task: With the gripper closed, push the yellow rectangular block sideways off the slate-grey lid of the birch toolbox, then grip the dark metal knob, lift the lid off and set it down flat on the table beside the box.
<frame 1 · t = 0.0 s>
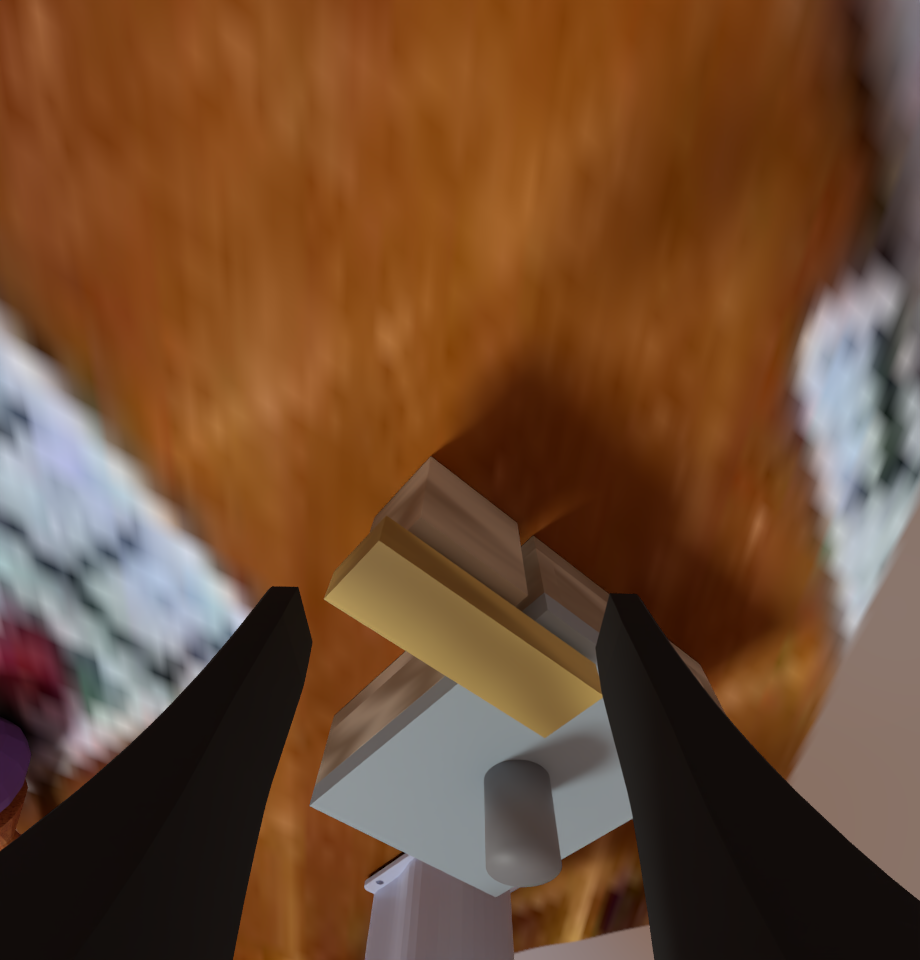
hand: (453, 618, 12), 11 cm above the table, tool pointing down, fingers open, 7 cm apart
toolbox: (509, 691, 28), on the table
lid: (513, 741, 26), point 3 cm above the table, touching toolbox
yellow rectangular block: (471, 634, 18), point 6 cm above the table, slide at 0.0 cm
kendama: (37, 796, 34), on the table
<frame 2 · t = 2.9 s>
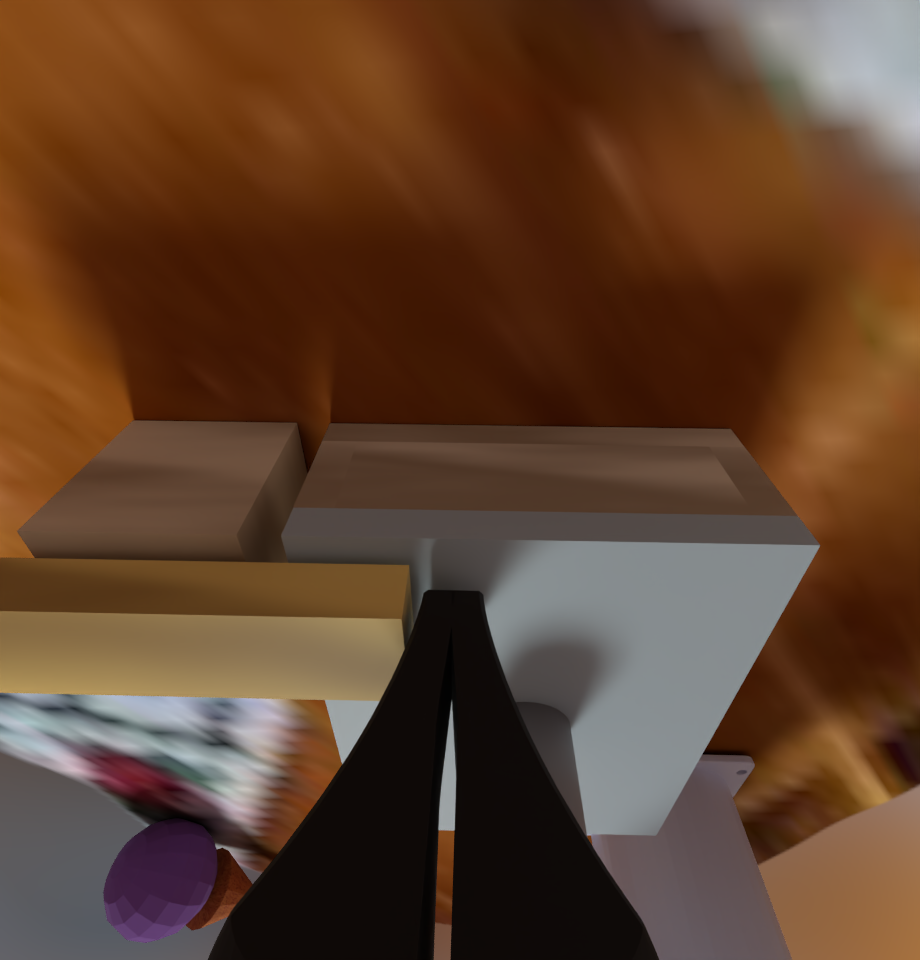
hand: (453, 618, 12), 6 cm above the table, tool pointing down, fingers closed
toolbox: (512, 603, 20), on the table
lid: (517, 671, 18), point 3 cm above the table, touching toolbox
yellow rectangular block: (193, 630, 12), point 6 cm above the table, slide at 0.1 cm, touching gripper
kendama: (266, 853, 38), on the table
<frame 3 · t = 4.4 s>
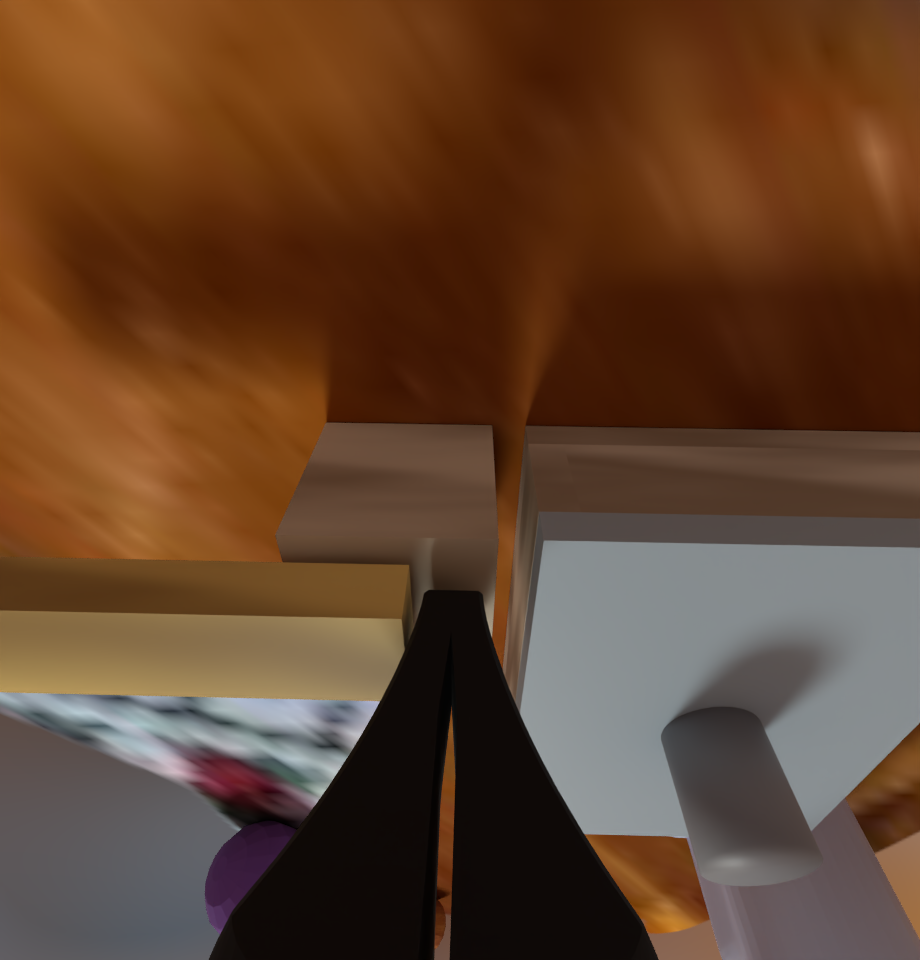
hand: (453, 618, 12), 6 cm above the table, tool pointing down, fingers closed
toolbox: (663, 606, 20), on the table
lid: (689, 675, 18), point 3 cm above the table, touching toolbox
yellow rectangular block: (192, 630, 12), point 6 cm above the table, slide at 6.0 cm, touching gripper
kendama: (347, 855, 38), on the table
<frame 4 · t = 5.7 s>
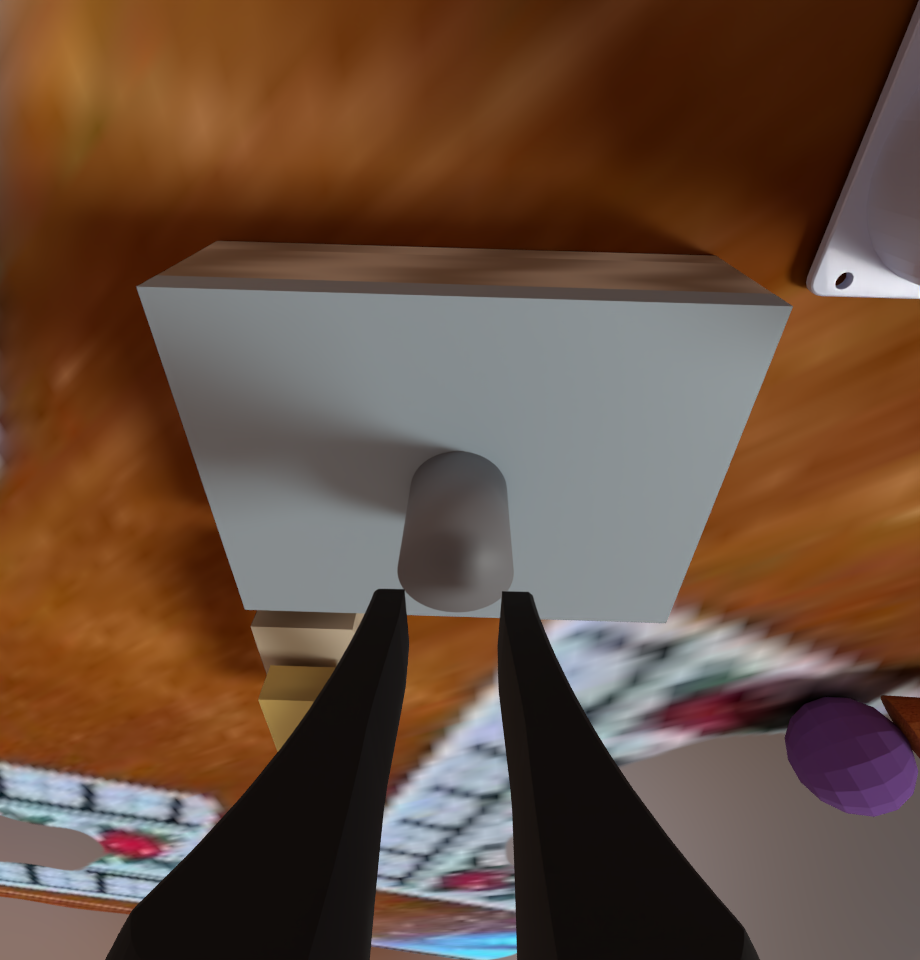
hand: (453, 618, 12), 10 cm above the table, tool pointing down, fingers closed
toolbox: (461, 413, 20), on the table
lid: (459, 455, 18), point 3 cm above the table, touching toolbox
yellow rectangular block: (319, 746, 24), point 6 cm above the table, slide at 6.0 cm
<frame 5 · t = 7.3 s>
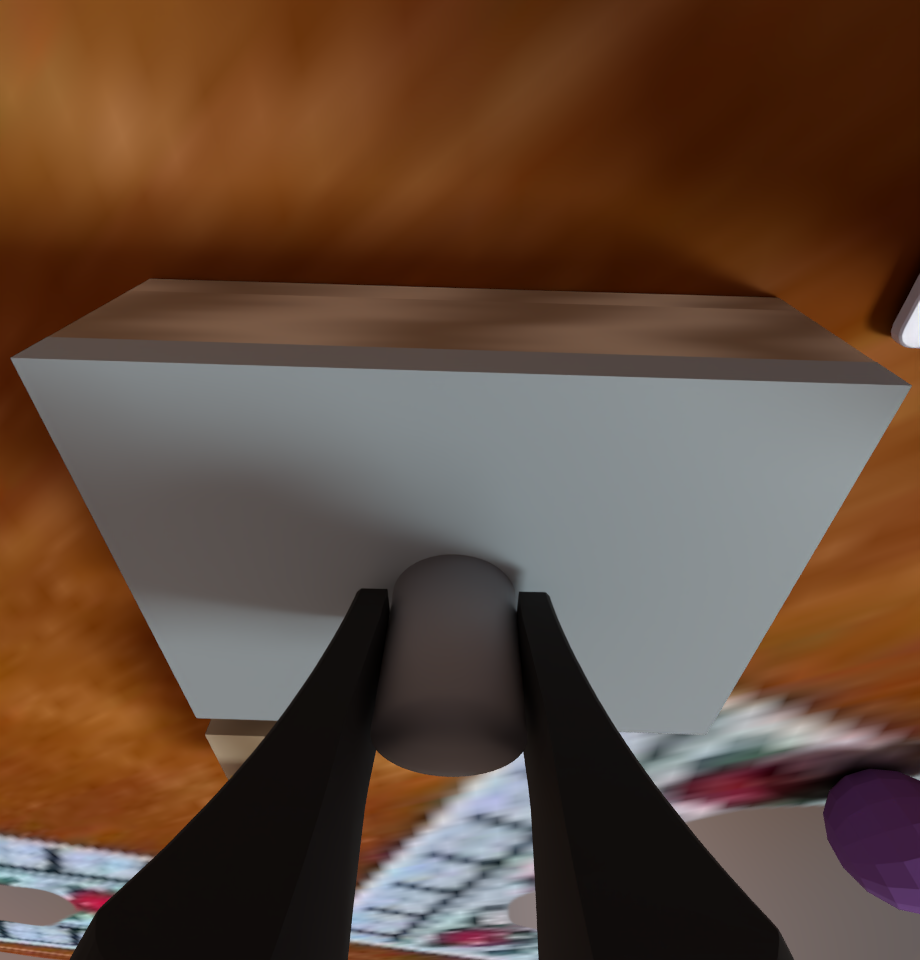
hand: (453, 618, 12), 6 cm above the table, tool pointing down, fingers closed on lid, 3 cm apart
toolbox: (458, 478, 17), on the table
lid: (456, 542, 14), point 3 cm above the table, touching gripper, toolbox
yellow rectangular block: (292, 857, 20), point 6 cm above the table, slide at 6.0 cm
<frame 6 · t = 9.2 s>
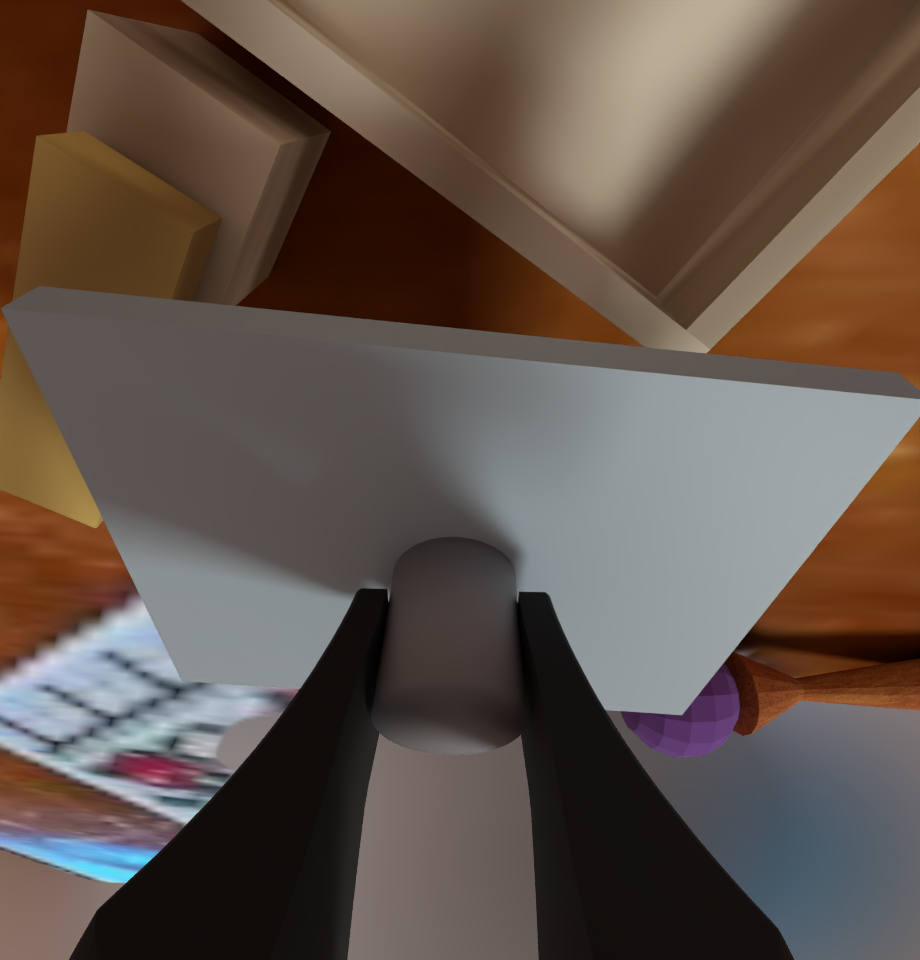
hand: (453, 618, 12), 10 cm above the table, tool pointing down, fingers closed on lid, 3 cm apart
lid: (456, 521, 14), point 8 cm above the table, touching gripper
yellow rectangular block: (91, 365, 13), point 6 cm above the table, slide at 6.0 cm
kendama: (779, 647, 30), on the table
when the fingers open (4 cm above the table, at t = 11.2 s): lid drops 2 cm, on the table.
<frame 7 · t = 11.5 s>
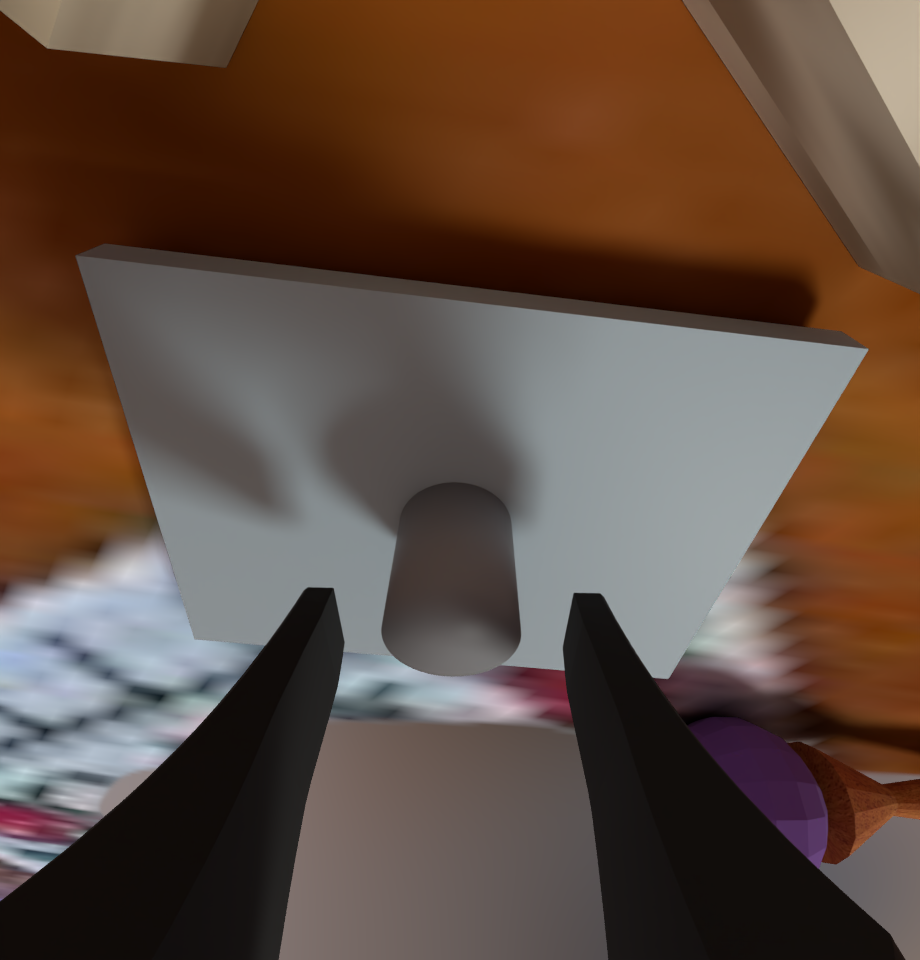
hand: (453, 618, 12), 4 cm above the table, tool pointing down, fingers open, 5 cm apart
lid: (457, 482, 16), on the table
kendama: (854, 737, 24), on the table
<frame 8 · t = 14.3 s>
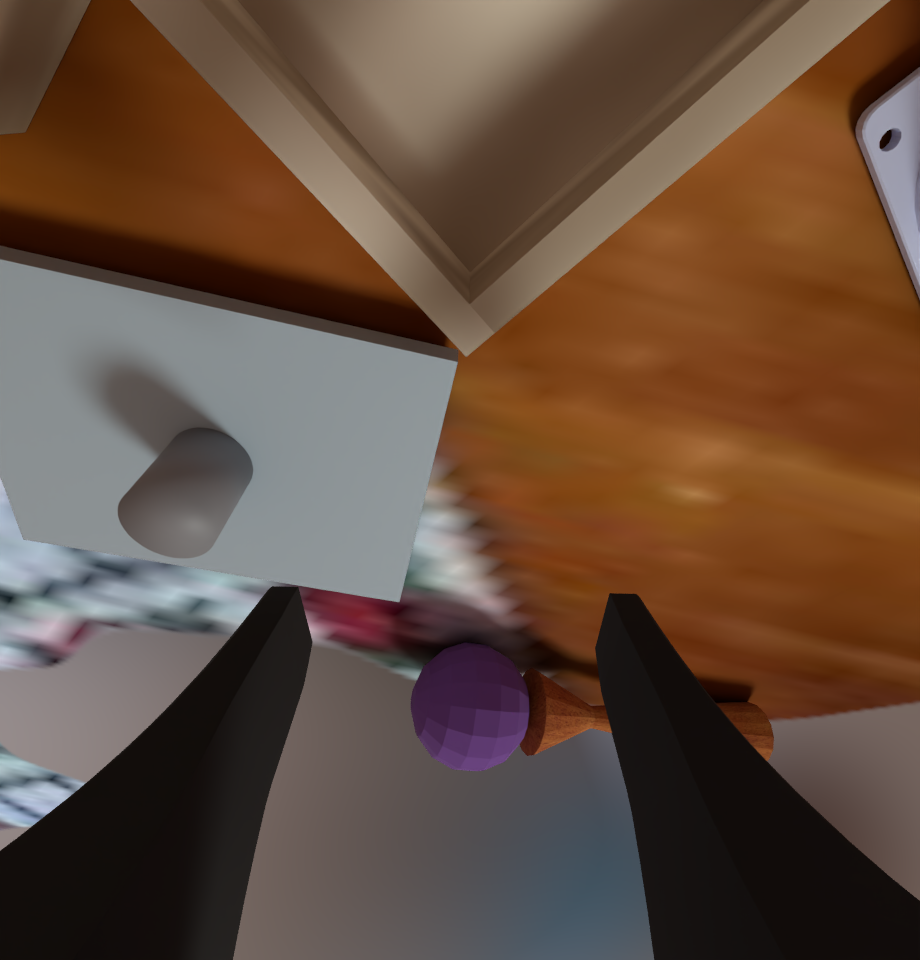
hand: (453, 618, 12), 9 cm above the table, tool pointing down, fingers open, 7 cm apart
lid: (231, 434, 21), on the table
kendama: (586, 673, 30), on the table
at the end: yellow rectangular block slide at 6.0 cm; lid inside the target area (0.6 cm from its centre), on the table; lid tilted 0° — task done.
